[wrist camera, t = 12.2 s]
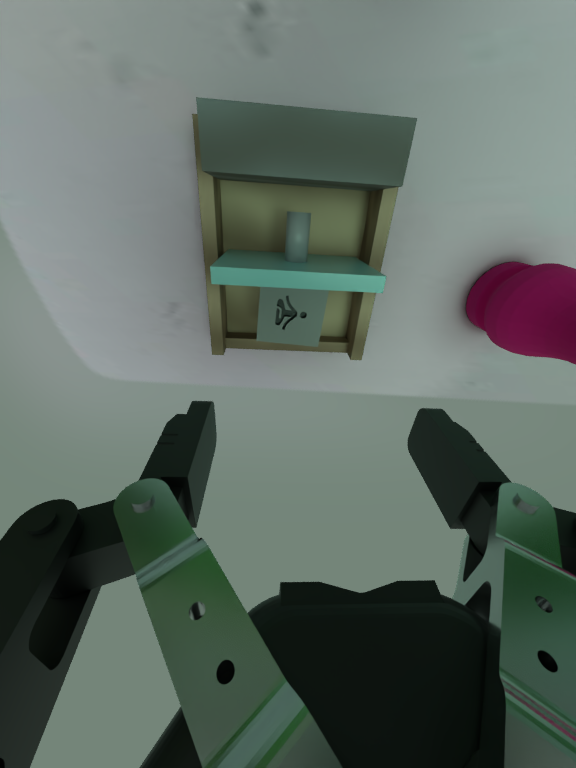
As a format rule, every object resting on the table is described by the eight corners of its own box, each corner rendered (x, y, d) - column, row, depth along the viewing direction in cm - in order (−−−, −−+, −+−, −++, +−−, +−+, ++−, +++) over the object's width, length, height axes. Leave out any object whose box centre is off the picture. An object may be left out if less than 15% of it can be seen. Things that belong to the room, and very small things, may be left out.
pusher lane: (204, 127, 21) (175, 95, 15) (390, 143, 21) (435, 120, 15) (218, 338, 29) (204, 373, 23) (352, 344, 30) (371, 378, 24)
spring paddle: (226, 206, 22) (205, 206, 15) (362, 215, 23) (399, 220, 16) (229, 262, 24) (211, 284, 18) (353, 269, 25) (382, 293, 18)
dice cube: (263, 263, 25) (261, 275, 21) (320, 270, 25) (330, 283, 21) (259, 319, 27) (256, 340, 23) (311, 325, 28) (318, 346, 24)
